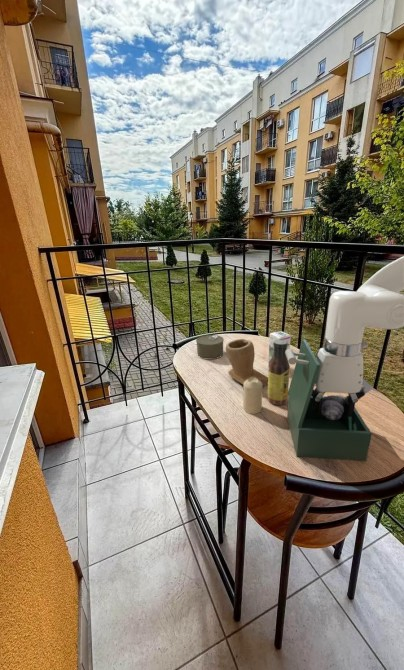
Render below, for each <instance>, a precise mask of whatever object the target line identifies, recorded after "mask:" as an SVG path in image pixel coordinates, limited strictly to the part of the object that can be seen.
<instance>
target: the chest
mask: <svg viewBox="0 0 404 670" xmlns="http://www.w3.org/2000/svg"><path fill="white" fill-rule="evenodd" d="M325 397H326V396H324V395H323V397H322V398H321V401H322V399H323V398H325ZM343 397H344V398H345V399H346V397H347V396H343ZM287 401H288V404H287V413H286V414H287V415H286V420H287V424H288V428H289V431H290V432H289V433H290V436H291V441H292V445H293V448H294V452H295V456H296V458H297V457H298V458H299V457H300V458H313V459H329V460H345V461H359V462H360V461H361V462H366V461H367V458H368V455H369V449H370V444H371V439H372V432H371V430H370V429H369V427H368V426H367V424H366V423H365V421H364V419H363V417H362V416H361V415H360V413H359V411H358V410H357V408H356V406H355V407H354V412H352V416H351V417H349V416H347V414H346V412H345V410H344V412H343V414H342V415H341V418H339V419H337V420H329V419H327V418H326V416H324V415H323V414H322V412H321V415H317V413H316V411H315V410H314V409H313V401H314V398H313V397H312V396H311V398H310V401H309V404H308V408H307V411H306V414H305V417H304V420H303V424H302V427H301V428H298V427H297V424H296V420H295V417H294V414H293V410H292V407H291V403H290V400H289V399H288V400H287ZM322 404H323V402H322ZM342 406H343V407H344V406H345V403H344V404H342Z"/></svg>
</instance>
